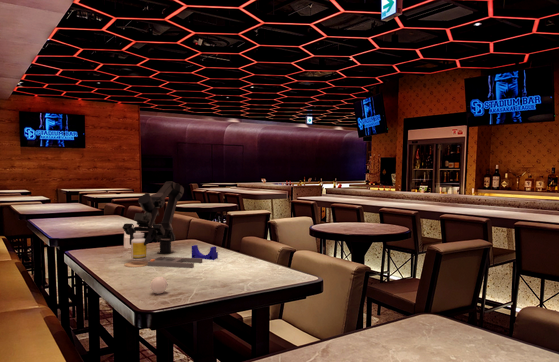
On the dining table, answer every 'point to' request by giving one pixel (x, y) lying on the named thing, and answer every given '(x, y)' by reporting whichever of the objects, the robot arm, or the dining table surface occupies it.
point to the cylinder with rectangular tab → (128, 239)
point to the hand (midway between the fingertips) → (137, 244)
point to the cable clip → (210, 255)
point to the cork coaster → (136, 264)
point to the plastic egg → (158, 285)
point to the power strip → (174, 262)
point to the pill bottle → (138, 247)
